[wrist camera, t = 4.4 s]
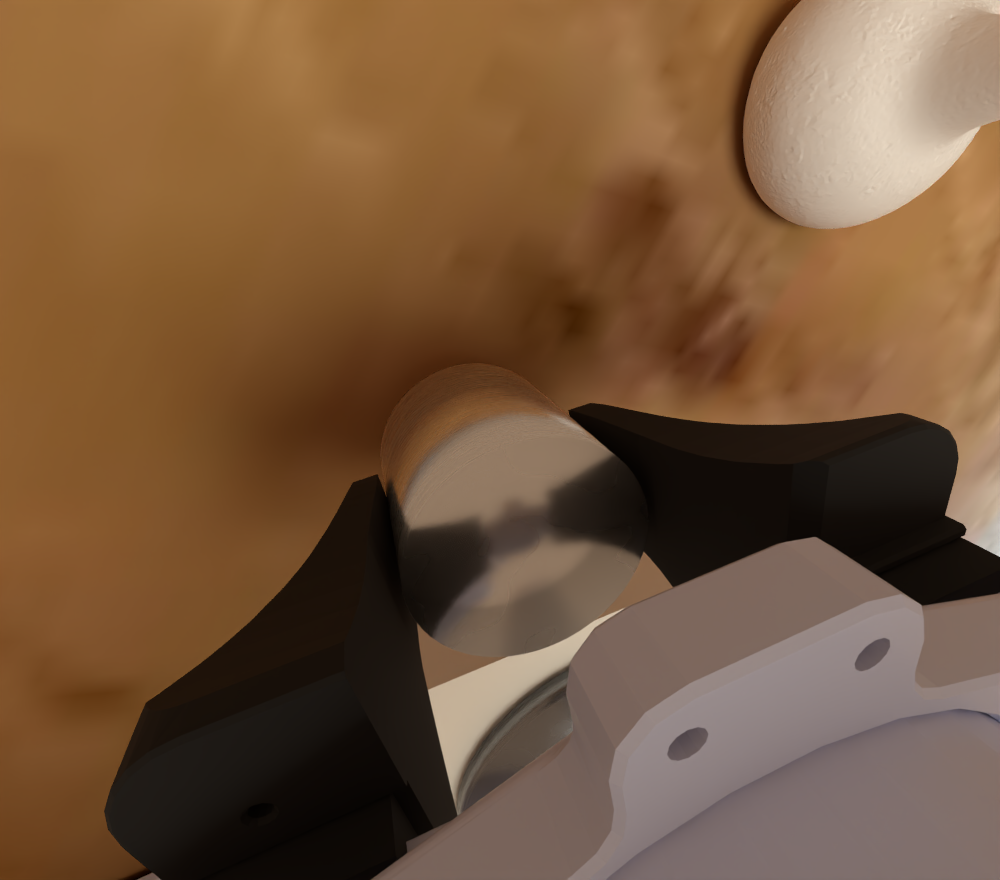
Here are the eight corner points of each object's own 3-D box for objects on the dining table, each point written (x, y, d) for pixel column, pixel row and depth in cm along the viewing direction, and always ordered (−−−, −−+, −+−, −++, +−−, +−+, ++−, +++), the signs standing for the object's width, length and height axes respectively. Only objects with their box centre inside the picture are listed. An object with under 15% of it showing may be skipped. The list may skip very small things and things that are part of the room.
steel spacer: (411, 548, 14) (442, 691, 10) (353, 396, 12) (360, 494, 8) (565, 492, 15) (655, 602, 11) (537, 340, 13) (638, 400, 9)
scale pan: (497, 903, 22) (502, 925, 21) (412, 734, 16) (416, 758, 15) (744, 778, 24) (756, 795, 23) (753, 588, 18) (771, 603, 17)
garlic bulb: (905, -11, 14) (1468, -301, 7) (876, 218, 17) (1281, 175, 9) (724, -2, 13) (1188, -347, 6) (720, 245, 15) (1050, 220, 8)
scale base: (440, 862, 25) (470, 1054, 19) (321, 657, 17) (311, 871, 12) (747, 714, 28) (852, 842, 22) (758, 486, 20) (920, 590, 15)
